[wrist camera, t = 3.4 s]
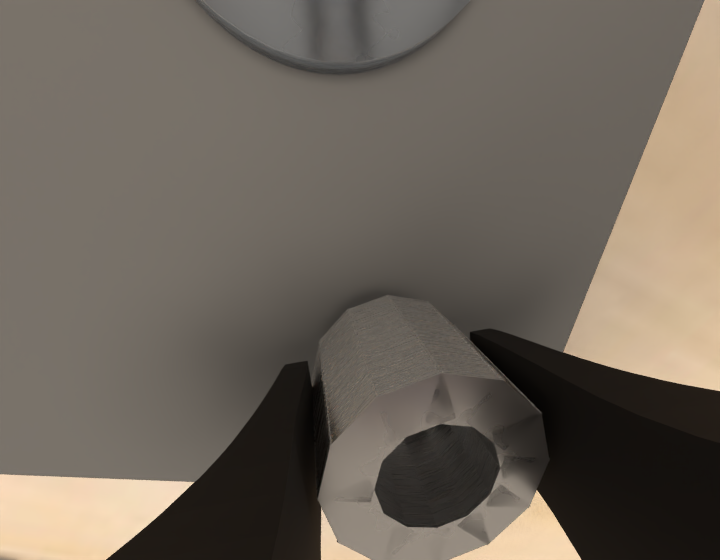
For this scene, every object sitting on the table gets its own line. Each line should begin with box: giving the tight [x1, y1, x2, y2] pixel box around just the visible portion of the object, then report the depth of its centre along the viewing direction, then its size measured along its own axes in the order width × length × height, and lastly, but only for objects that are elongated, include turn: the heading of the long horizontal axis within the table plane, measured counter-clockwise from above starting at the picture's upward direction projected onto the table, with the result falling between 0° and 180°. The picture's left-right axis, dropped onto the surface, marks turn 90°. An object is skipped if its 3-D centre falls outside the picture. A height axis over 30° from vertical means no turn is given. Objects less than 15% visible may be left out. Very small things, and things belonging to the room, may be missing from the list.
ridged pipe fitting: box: [311, 295, 550, 560], centre depth 9 cm, size 4×4×4 cm
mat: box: [0, 0, 704, 482], centre depth 11 cm, size 19×25×1 cm
